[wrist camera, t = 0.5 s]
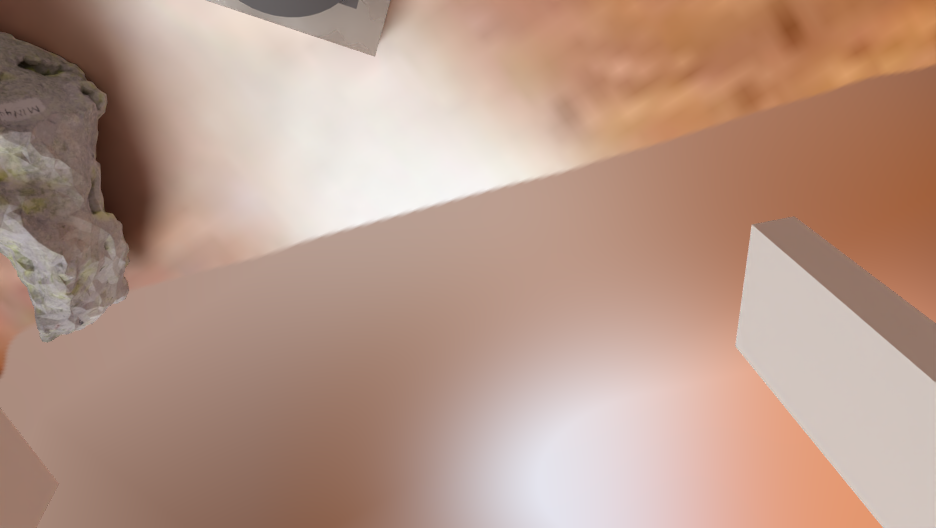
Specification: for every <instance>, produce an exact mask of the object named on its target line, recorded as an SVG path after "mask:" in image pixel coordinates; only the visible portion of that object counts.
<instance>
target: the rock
mask: <svg viewBox="0 0 936 528" xmlns="http://www.w3.org/2000/svg"><path fill="white" fill-rule="evenodd" d="M106 106H107V95H106V94H105V93H103V92H102V91H100V90H99V89H98V88H97V87H96V86H95V85H94V83H93V82H91V81H87V79H86V78H85V73H84V72H83V71H82V70H81V69H80V68H79V67H78V66H77V65H76V64H72V63H69V62H67V61H66V60H65V59H63V58H62V57H60V56H58V55H56V54H53V53H51V52H48V51H46V50H44V49H42V48H39V47H37V46H35V45H32V44H30V43H27V42H24V41H21V40H18V39H15V38H14V37H13V36H12V35H11V34H8V33H4V32H0V252H1V253H2V254H3V255H4V256H6V257H7V258H8V259H9V260H10V261H11V263H12V265H13V267H14V268H15V269H16V270H17V274H18V277H19V278H20V280H21V281H22V283H23V284H24V285H25V286H27V289H28V292H29V296H30V299H31V301H32V304H33V306H34V309H35V319H36V323H37V328H38V330H39V332H40V338H41V340H42V341H44V342H50V341H52V340H54V339H55V338H57V337H58V336H59V335H62V334H69V333H72V332H74V331H75V330H81V329H83V328H85V326H87V325H89V324H92V323H94V322H95V321H96V320H97V319H98V318H99V317H100V316H101V315H102V314H103V313H104V312H105V311H106V309H107V308H108V307H109V306H111V305H112V304H113V303H119V302H120V301H123V300H125V299H126V296H127V294H128V291H129V287H128V282H127V280H126V279H125V277H124V272H125V268H126V266H127V265H128V263H129V262H130V261H129V259H128V256H127V254H128V252H129V246H128V244H127V243H126V241H125V239H124V236H123V232H122V227H123V225H122V224H121V222H120V221H118V220H117V219H116V218H115V216H114V215H113V214H112V213H106V212H105V209H104V200H103V195H102V192H101V170H100V164H99V163H98V162H97V161H96V143H97V138H98V129H97V128H98V119H99V118H100V117H101V116H102V115H103V114H104V113H105V110H106Z"/></svg>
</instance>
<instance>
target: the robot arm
mask: <svg viewBox="0 0 936 528" xmlns="http://www.w3.org/2000/svg"><path fill="white" fill-rule="evenodd" d="M735 346H736V348H737V349H738V350H739V351H740V353H741V354H742V355H743V356H744V357H745V359H746V360H747V361H748V362H749V364H750V365H751V366H752V367H753V368H754V370H755V371H756V372H757V373H758V375H759V376H760V377H761V378H762V380H763V381H764V382H765V383H766V385H767V386H768V387H769V388H770V389H771V391H772V392H773V393H774V394H775V395H776V397H777V398H778V399H779V400H780V402H781V403H782V404H783V405H784V407H785V408H786V409H787V410H788V412H789V413H790V414H791V415H792V416H793V418H794V419H795V420H796V421H797V423H798V424H799V425H800V426H801V427H802V429H803V430H804V431H805V432H806V434H807V435H808V436H809V437H810V439H811V440H812V441H813V442H814V443H815V445H816V446H817V447H818V448H819V450H820V451H821V452H822V453H823V454H824V456H825V457H826V458H827V459H828V461H829V462H830V463H831V464H832V466H833V467H834V468H835V469H836V470H837V471H838V473H839V474H840V475H841V477H842V478H843V479H844V480H845V481H846V483H847V484H848V485H849V486H850V487H851V489H852V490H853V491H854V492H855V494H856V495H857V496H858V497H859V499H860V500H861V501H862V502H863V504H864V505H865V506H866V507H867V508H868V510H869V511H870V512H871V513H872V515H873V516H874V517H875V518H876V520H877V521H878V522H879V523H880V524H881V526H882V527H883V528H936V323H935V322H933V321H932V320H931V319H929V318H928V317H927V316H925V315H924V314H923V313H921V312H920V311H919V310H917V309H916V308H915V307H913V306H912V305H911V304H909V303H908V302H907V301H905V300H904V299H903V298H902V297H900V296H899V295H898V294H896V293H895V292H894V291H892V290H891V289H890V288H888V287H887V286H886V285H884V284H883V283H882V282H880V281H879V280H878V279H876V278H875V277H874V276H872V275H871V274H870V273H868V272H867V271H866V270H864V269H863V268H862V267H861V266H859V265H857V263H855V262H854V261H853V260H851V259H850V258H849V257H847V256H846V255H845V254H843V253H842V252H841V251H839V250H838V249H837V248H835V247H834V246H833V245H831V244H830V243H829V242H827V241H826V240H825V239H823V238H822V237H821V236H819V235H818V234H817V233H815V232H814V231H813V230H811V229H810V228H809V227H807V226H806V225H805V224H803V223H802V222H801V221H800V220H798V219H797V218H796V217H788V218H783V219H778V220H773V221H768V222H763V223H758V224H752V228H751V235H750V242H749V249H748V257H747V264H746V271H745V279H744V286H743V293H742V301H741V309H740V315H739V323H738V331H737V337H736V345H735ZM58 485H59V483H58V482H57V481H56V479H55V478H54V477H53V475H52V474H51V473H50V472H49V470H48V469H47V468H46V466H45V465H44V464H43V463H42V461H41V460H40V459H39V457H38V456H37V455H36V453H35V452H34V451H33V450H32V448H31V447H30V446H29V444H28V443H27V442H26V440H25V439H24V438H23V437H22V435H21V434H20V433H19V432H18V430H17V429H16V428H15V426H14V425H13V424H12V422H11V421H10V420H9V419H8V417H7V416H6V415H5V413H4V412H3V411H2V409H1V408H0V528H37V525H38V524H39V522H40V520H41V518H42V516H43V514H44V512H45V510H46V508H47V506H48V504H49V502H50V501H51V499H52V497H53V495H54V493H55V491H56V489H57V487H58Z"/></svg>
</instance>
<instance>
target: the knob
mask: <svg viewBox="0 0 936 528" xmlns="http://www.w3.org/2000/svg"><path fill="white" fill-rule="evenodd" d="M239 1H240V2H242V3H244V4H246V5H247V6H249V7H251V8H253V9H256V10H258V11H261V12H263V13H267V14H270V15H274V16H280V17H305V16H311V15H314V14H318V13H321V12H323V11H325V10H327V9H330V8H331V7H333V6H335V5H336V4H338V3H339V2H341V1H342V0H239Z"/></svg>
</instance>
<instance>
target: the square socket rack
mask: <svg viewBox="0 0 936 528" xmlns="http://www.w3.org/2000/svg"><path fill="white" fill-rule="evenodd" d="M207 1H210V2H213V3H216V4H219V5H222V6H225V7H228V8H231V9H234V10H237V11H240V12H243V13H246V14H249V15H252V16H255V17H258V18H261V19H264V20H267V21H270V22H273V23H276V24H279V25H282V26H285V27H288V28H291V29H294V30H297V31H300V32H303V33H306V34H309V35H312V36H315V37H318V38H321V39H324V40H327V41H330V42H333V43H336V44H339V45H342V46H345V47H348V48H351V49H354V50H357V51H360V52H363V53H366V54H369V55H372V56H375V54H376V51H377V47H378V44H379V40H380V36H381V33H382V29H383V25H384V22H385V18H386V15H387V11H388V7H389V4H390V0H342V1H341V2H339V3H338V4H336V5H335V6H333V7H331V8H330V9H327V10H325V11H323V12H321V13H318V14H314V15H311V16H305V17H280V16H274V15H270V14H267V13H263V12H261V11H258V10H256V9H253V8H251V7H249V6H247V5H246V4H244V3H242V2H240V1H239V0H207Z"/></svg>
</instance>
